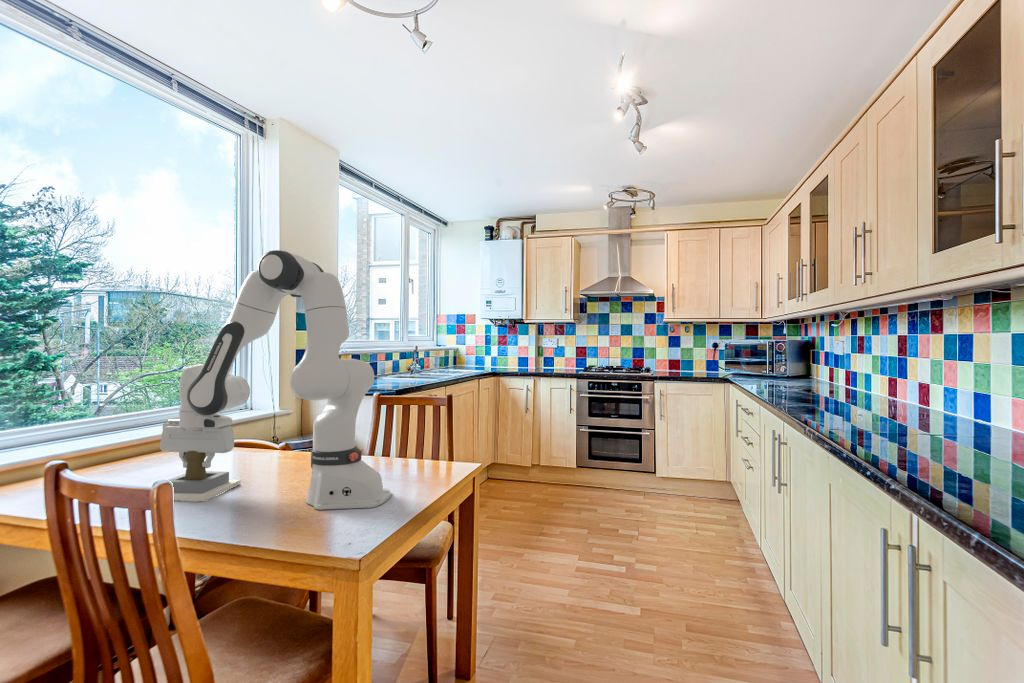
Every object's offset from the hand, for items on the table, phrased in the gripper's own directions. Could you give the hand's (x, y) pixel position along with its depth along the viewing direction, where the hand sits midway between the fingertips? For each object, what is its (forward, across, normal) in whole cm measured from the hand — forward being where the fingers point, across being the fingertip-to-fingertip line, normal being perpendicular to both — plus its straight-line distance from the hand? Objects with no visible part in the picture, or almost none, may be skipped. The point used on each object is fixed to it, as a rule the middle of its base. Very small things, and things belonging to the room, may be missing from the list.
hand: (197, 467), depth 141 cm
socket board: (+7, 0, 0) cm, 7 cm away
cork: (+6, 0, 0) cm, 6 cm away
